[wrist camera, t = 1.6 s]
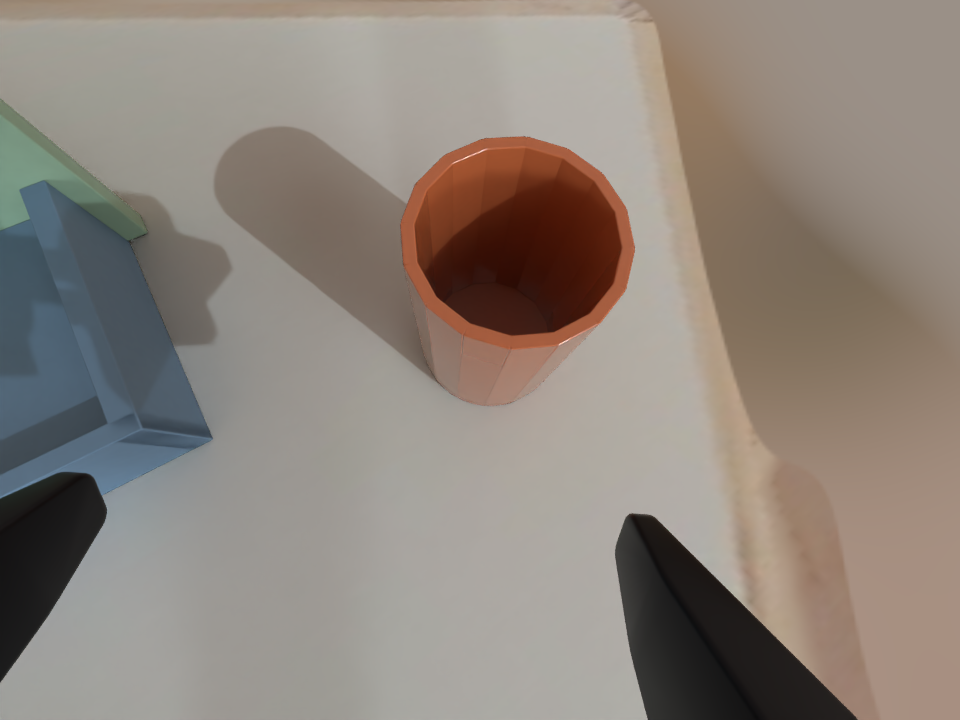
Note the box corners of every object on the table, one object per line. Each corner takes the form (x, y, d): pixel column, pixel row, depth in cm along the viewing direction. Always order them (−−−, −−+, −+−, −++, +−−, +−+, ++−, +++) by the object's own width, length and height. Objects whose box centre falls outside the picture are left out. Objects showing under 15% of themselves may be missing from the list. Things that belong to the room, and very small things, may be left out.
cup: (578, 333, 23) (676, 225, 13) (499, 433, 22) (542, 398, 12) (479, 257, 24) (499, 98, 14) (396, 349, 23) (351, 246, 12)
